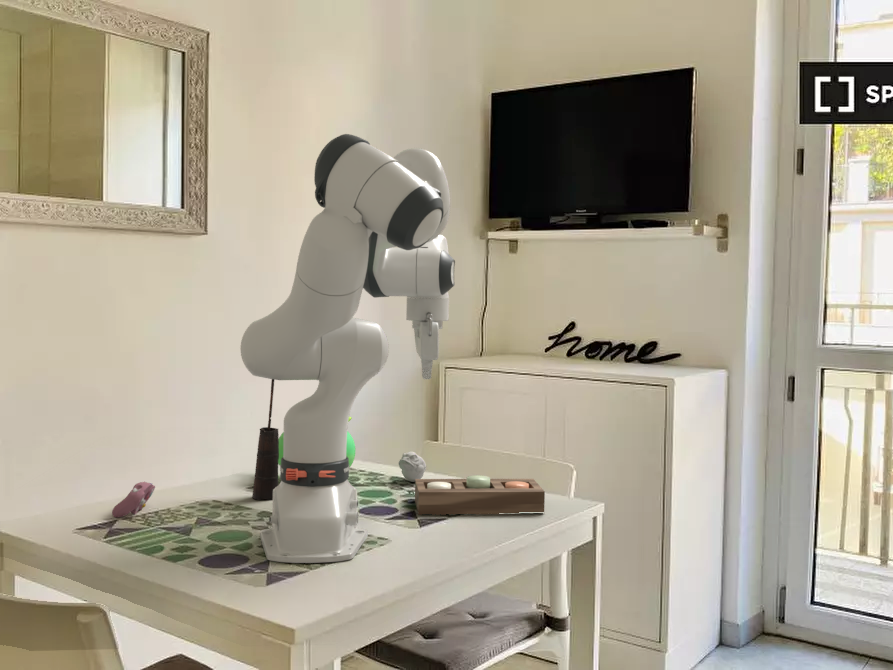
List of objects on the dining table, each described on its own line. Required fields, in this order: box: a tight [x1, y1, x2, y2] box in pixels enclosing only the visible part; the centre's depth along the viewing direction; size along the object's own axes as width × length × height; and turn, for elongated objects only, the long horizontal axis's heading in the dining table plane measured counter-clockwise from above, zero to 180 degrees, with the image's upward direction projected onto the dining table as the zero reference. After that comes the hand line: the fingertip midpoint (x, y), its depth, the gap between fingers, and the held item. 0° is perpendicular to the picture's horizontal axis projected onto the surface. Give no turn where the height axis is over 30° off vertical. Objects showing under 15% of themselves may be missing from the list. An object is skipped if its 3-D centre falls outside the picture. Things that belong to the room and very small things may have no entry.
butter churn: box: [252, 379, 280, 501], centre depth 186 cm, size 9×10×28 cm
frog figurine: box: [398, 451, 427, 483], centre depth 206 cm, size 6×7×7 cm
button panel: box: [414, 478, 546, 516], centre depth 183 cm, size 12×25×4 cm, turn 96°
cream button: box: [427, 482, 451, 489], centre depth 182 cm, size 5×5×2 cm
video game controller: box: [111, 481, 156, 518], centre depth 175 cm, size 10×5×7 cm, turn 1°
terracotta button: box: [505, 481, 529, 488], centre depth 184 cm, size 5×5×2 cm
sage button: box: [466, 474, 491, 489], centre depth 183 cm, size 5×5×2 cm
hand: (426, 378), depth 187 cm, fingers closed
